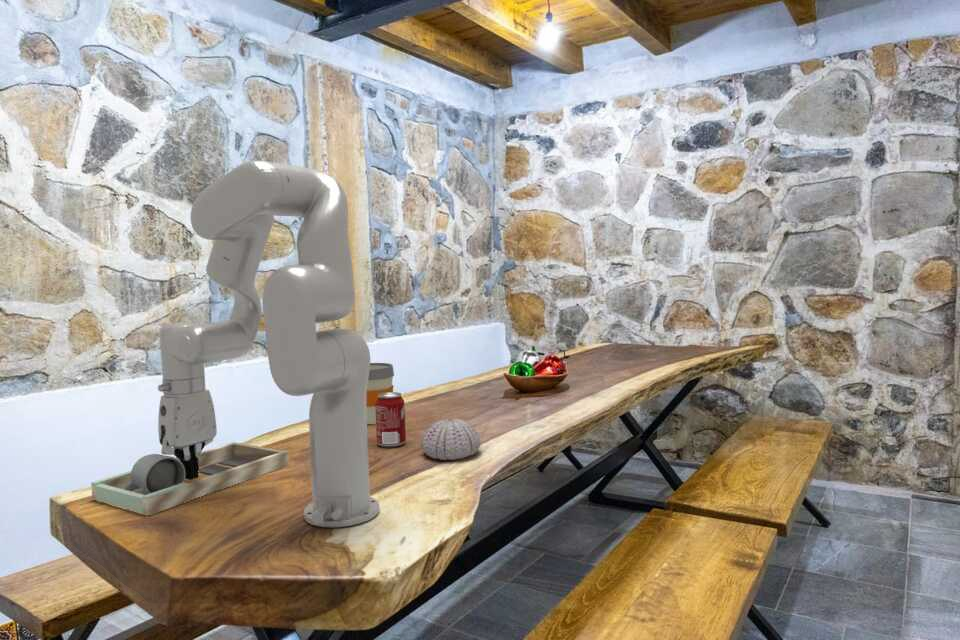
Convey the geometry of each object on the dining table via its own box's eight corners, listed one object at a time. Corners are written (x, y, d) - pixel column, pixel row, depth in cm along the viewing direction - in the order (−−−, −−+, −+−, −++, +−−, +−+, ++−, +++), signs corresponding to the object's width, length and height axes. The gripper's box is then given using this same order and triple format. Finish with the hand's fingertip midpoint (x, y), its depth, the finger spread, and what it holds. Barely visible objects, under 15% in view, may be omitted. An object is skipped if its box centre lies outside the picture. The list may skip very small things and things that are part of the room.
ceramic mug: (168, 483, 130) (164, 446, 130) (188, 492, 125) (184, 452, 124) (111, 500, 122) (107, 460, 122) (129, 510, 117) (125, 468, 116)
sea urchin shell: (427, 466, 138) (426, 429, 137) (416, 449, 151) (415, 415, 150) (488, 460, 141) (487, 423, 141) (472, 444, 154) (471, 410, 154)
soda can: (400, 449, 151) (398, 397, 150) (372, 448, 152) (370, 397, 151) (409, 441, 158) (407, 391, 157) (382, 440, 159) (380, 391, 158)
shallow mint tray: (147, 516, 113) (146, 497, 113) (92, 500, 122) (91, 482, 122) (189, 501, 120) (187, 483, 120) (133, 487, 129) (132, 470, 128)
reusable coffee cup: (340, 421, 180) (337, 366, 178) (378, 413, 188) (376, 361, 187) (366, 428, 171) (363, 371, 169) (404, 420, 179) (403, 365, 178)
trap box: (147, 516, 113) (146, 499, 113) (92, 500, 122) (91, 484, 122) (288, 465, 141) (287, 451, 140) (235, 455, 149) (234, 442, 149)
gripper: (161, 394, 120) (167, 492, 122) (229, 381, 133) (234, 469, 135) (136, 391, 124) (142, 486, 125) (204, 378, 137) (209, 464, 138)
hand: (190, 477), depth 130 cm, fingers closed
